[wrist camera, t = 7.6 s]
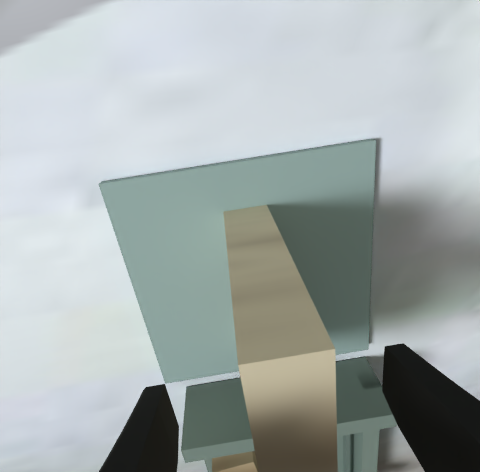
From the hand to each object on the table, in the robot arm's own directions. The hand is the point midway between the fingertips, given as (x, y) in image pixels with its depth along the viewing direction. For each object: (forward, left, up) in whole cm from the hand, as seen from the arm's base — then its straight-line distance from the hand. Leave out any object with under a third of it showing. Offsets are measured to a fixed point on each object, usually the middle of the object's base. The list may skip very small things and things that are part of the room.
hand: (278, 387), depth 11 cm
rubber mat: (0, 0, -7) cm, 7 cm away
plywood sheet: (0, 0, -6) cm, 6 cm away
